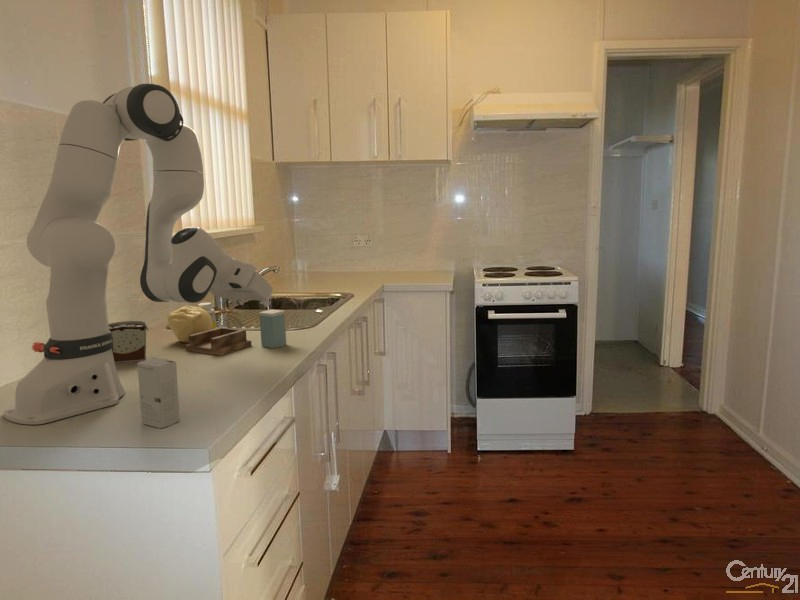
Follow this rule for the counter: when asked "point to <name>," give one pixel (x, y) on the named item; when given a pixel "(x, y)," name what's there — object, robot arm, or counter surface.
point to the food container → (129, 340)
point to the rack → (218, 341)
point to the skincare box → (158, 392)
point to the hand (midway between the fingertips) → (254, 304)
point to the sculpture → (189, 322)
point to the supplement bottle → (211, 312)
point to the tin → (272, 328)
